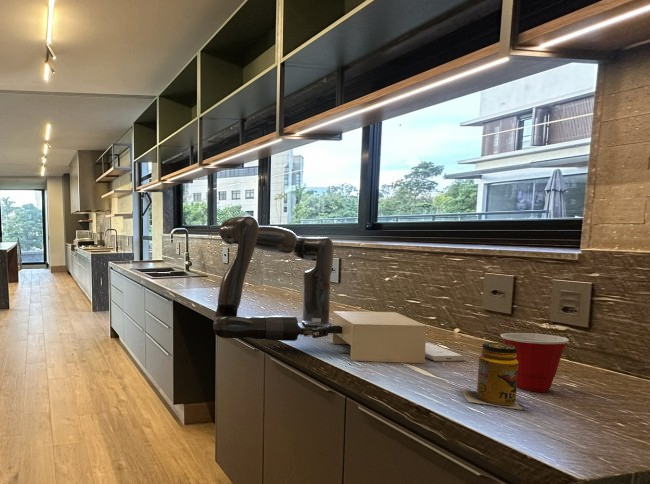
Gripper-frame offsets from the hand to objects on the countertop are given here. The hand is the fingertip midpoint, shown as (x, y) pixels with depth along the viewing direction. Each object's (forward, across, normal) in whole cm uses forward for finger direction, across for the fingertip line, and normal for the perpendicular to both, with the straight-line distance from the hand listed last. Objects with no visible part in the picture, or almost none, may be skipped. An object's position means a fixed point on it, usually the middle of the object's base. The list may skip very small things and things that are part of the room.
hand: (341, 329), depth 122 cm
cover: (+9, 0, +7) cm, 11 cm away
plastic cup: (+32, -24, +7) cm, 41 cm away
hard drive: (+24, 0, +7) cm, 25 cm away
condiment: (+19, -33, +7) cm, 39 cm away
